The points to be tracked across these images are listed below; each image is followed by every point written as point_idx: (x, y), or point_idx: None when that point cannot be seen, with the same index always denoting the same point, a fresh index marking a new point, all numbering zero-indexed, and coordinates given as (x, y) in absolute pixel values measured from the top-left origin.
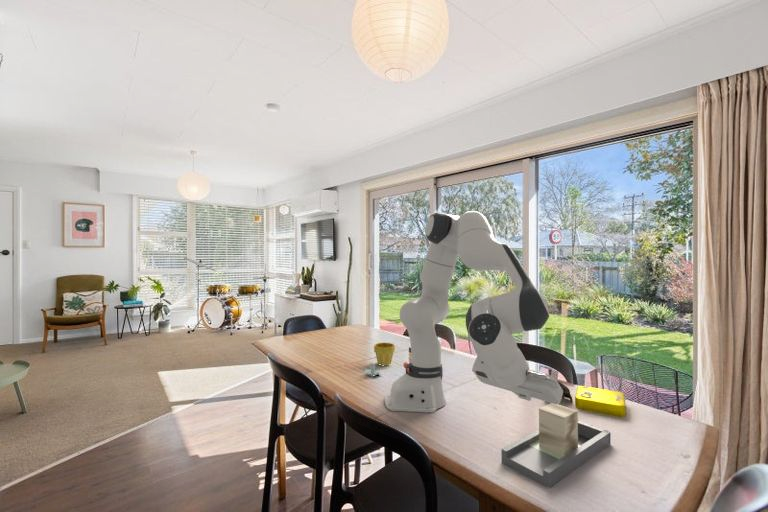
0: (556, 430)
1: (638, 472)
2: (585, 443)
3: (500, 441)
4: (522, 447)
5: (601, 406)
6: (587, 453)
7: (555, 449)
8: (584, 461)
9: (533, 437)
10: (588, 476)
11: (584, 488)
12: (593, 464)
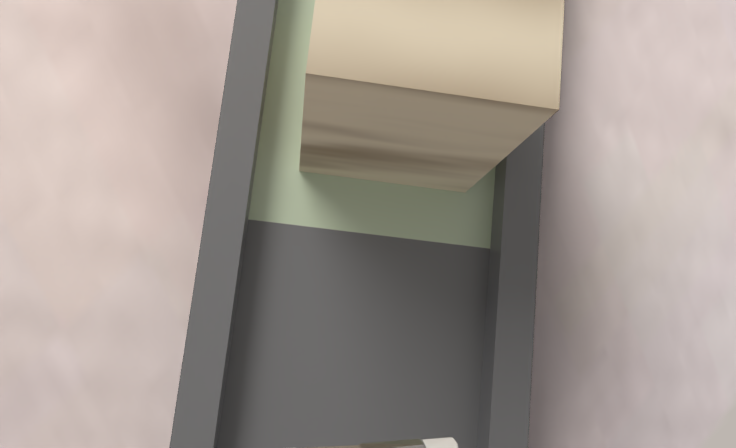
0: (449, 143)
1: (715, 15)
2: None
3: (48, 232)
4: (238, 290)
5: None
6: None
7: (412, 180)
8: None
9: (255, 153)
10: (580, 226)
11: (610, 351)
12: None
